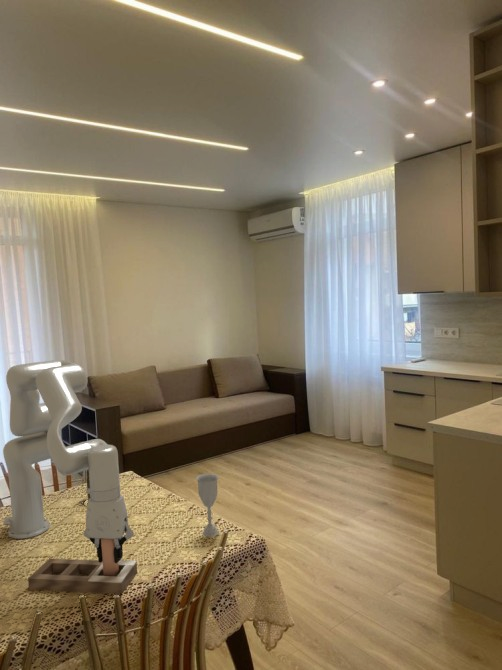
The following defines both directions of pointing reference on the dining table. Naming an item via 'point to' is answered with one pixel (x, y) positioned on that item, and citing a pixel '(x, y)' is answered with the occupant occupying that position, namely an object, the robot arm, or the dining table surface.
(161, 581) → the dining table surface
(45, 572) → the block with square holes
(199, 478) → the chalice
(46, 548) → the dining table surface
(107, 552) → the peg
